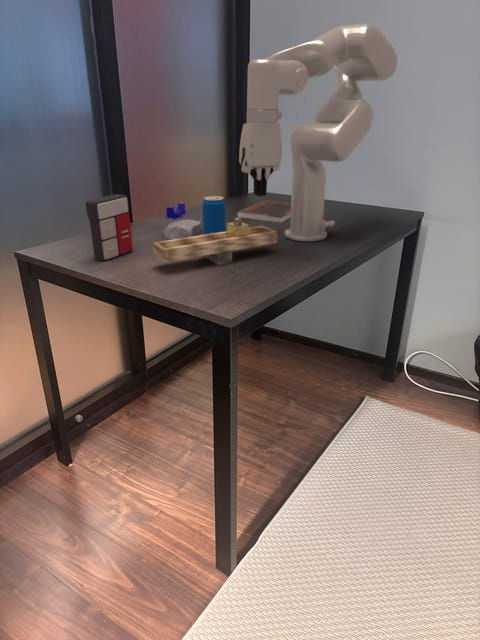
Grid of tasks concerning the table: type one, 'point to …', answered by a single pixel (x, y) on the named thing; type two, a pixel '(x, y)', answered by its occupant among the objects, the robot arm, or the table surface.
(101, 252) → the drawer cabinet
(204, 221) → the beverage can
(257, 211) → the picture frame
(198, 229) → the stone block
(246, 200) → the table surface
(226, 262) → the beam
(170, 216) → the cable holder
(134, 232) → the table surface
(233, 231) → the rider
